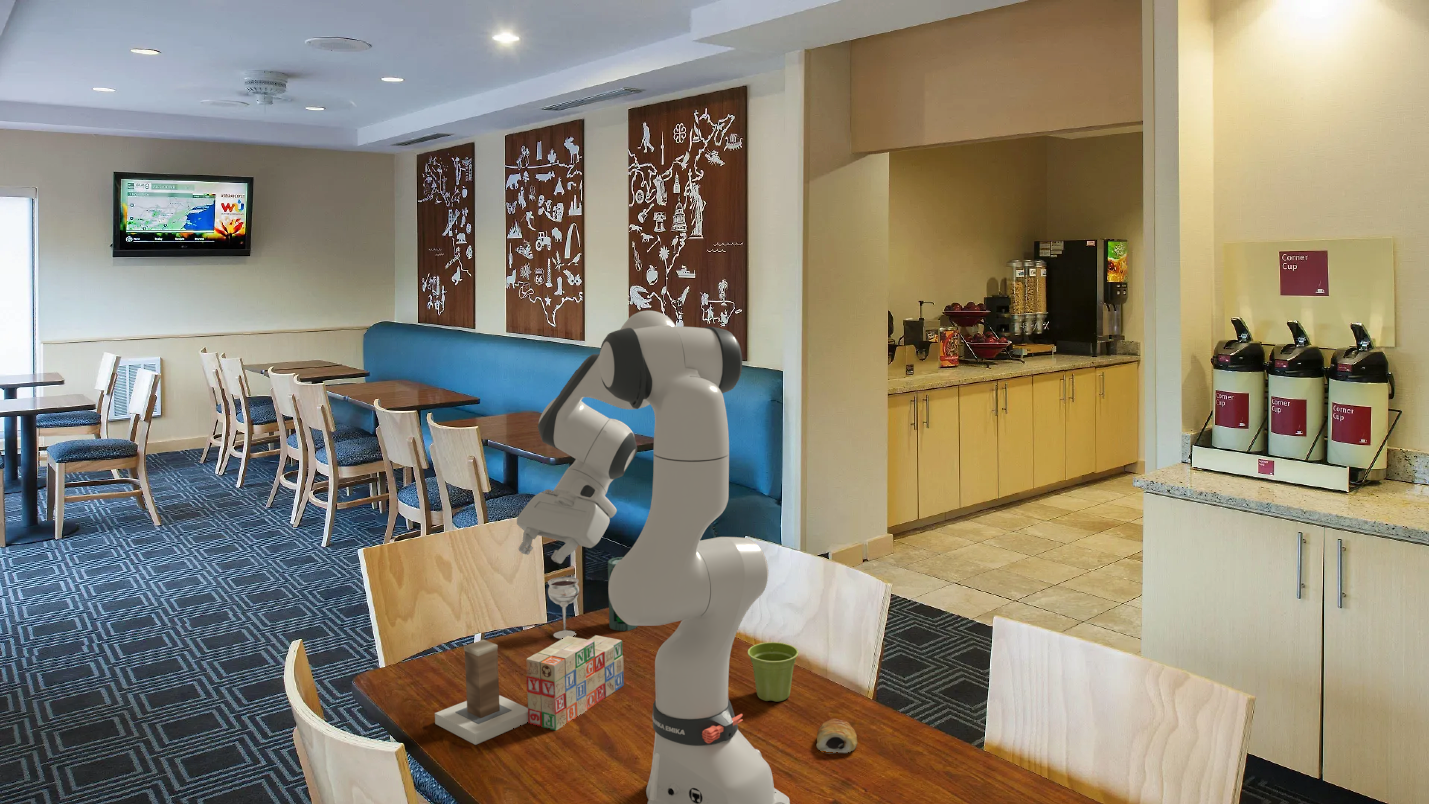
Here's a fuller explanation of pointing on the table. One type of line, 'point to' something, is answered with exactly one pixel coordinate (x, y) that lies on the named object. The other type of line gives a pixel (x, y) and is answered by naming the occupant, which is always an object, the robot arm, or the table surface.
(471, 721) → the plate
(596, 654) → the stack of blocks
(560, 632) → the wineglass
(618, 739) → the table surface
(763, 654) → the plant pot
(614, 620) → the can
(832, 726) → the pastry
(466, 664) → the brown tall block
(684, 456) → the robot arm
